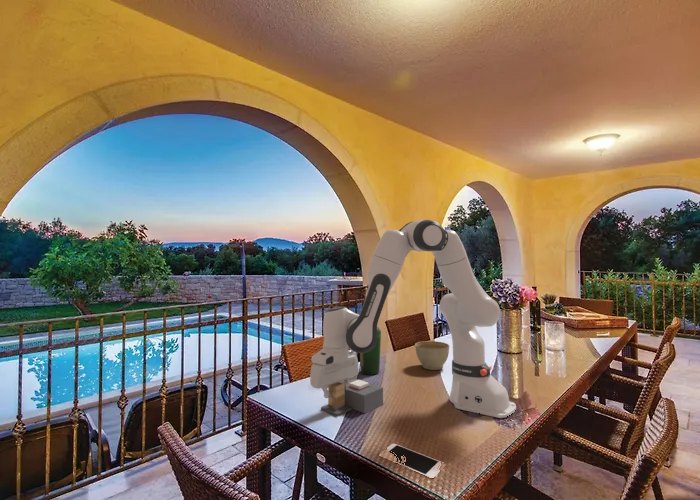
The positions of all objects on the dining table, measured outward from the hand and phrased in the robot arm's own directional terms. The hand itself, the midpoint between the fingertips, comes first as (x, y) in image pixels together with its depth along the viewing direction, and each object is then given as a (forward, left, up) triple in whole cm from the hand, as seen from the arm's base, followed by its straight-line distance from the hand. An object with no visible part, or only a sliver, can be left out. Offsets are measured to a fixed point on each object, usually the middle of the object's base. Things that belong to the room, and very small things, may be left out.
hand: (335, 394), depth 121 cm
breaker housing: (-2, -10, -6) cm, 11 cm away
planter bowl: (+1, -65, -6) cm, 65 cm away
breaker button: (-2, -10, -3) cm, 10 cm away
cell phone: (-36, +7, -6) cm, 37 cm away
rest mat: (0, 0, -5) cm, 5 cm away
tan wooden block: (0, 0, -5) cm, 5 cm away
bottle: (+18, -39, -6) cm, 43 cm away
